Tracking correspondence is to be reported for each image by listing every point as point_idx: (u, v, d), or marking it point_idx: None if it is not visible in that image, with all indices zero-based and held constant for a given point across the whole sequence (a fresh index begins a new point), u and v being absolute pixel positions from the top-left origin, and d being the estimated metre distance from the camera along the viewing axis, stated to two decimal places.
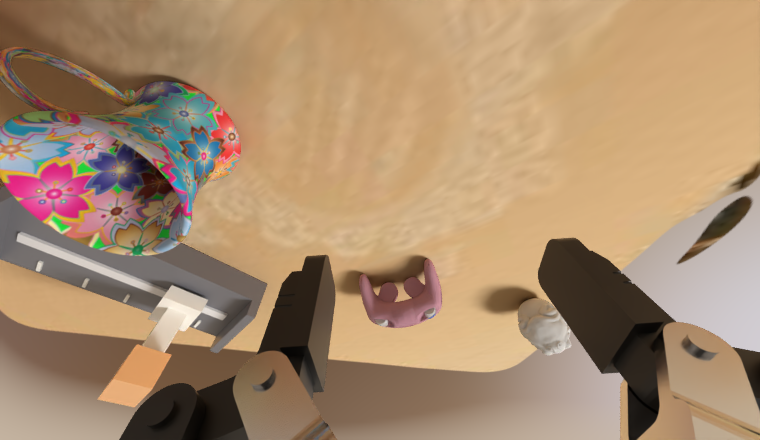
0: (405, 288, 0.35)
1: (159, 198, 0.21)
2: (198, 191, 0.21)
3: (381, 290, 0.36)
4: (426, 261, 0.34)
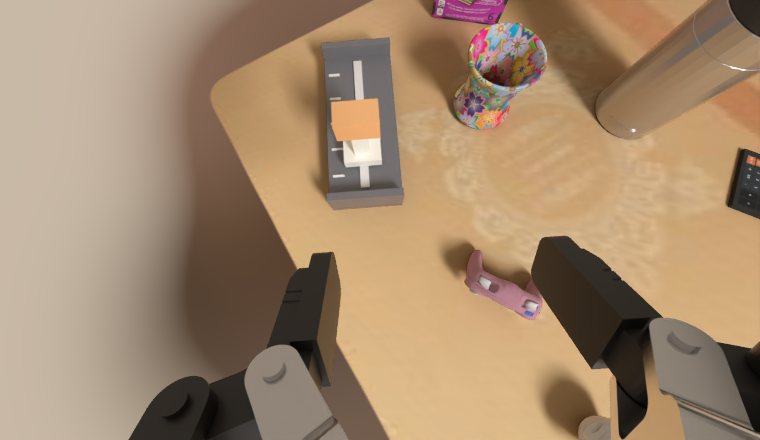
0: None
1: None
2: (498, 102, 0.37)
3: None
4: None
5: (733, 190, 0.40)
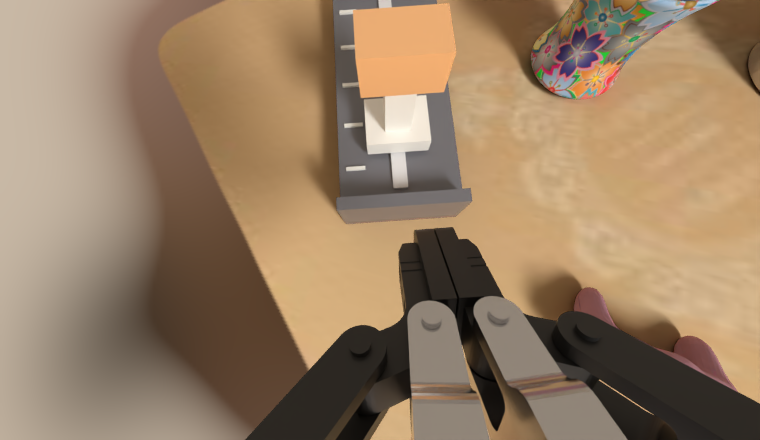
0: None
1: None
2: (630, 45, 0.22)
3: None
4: (691, 336, 0.22)
5: None
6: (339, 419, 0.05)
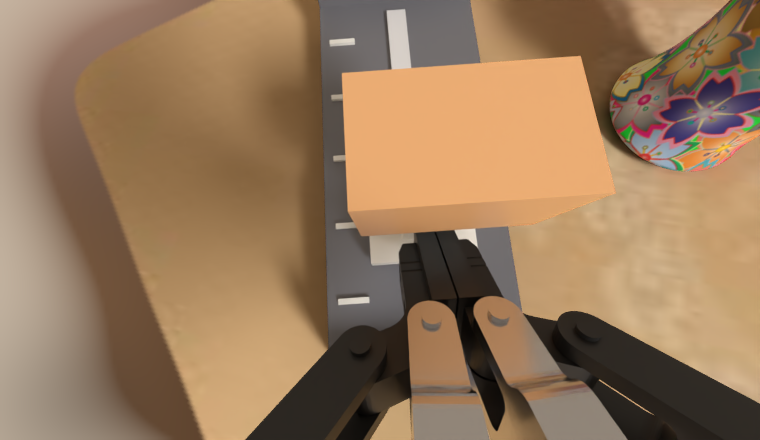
0: None
1: None
2: None
3: None
4: None
5: None
6: (339, 419, 0.05)
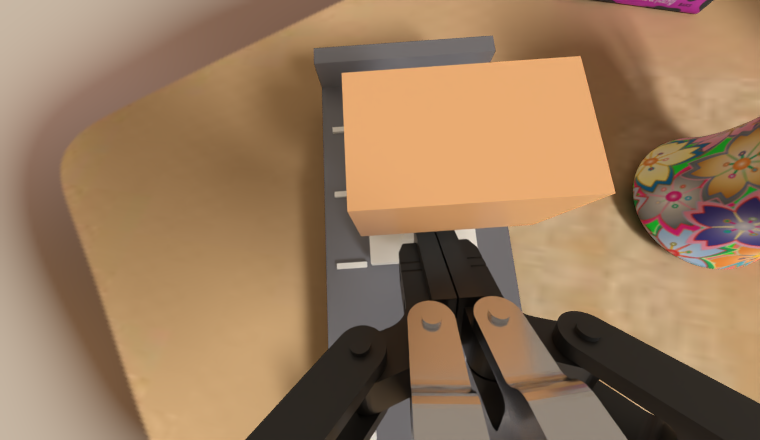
0: None
1: None
2: None
3: None
4: None
5: None
6: (339, 419, 0.05)
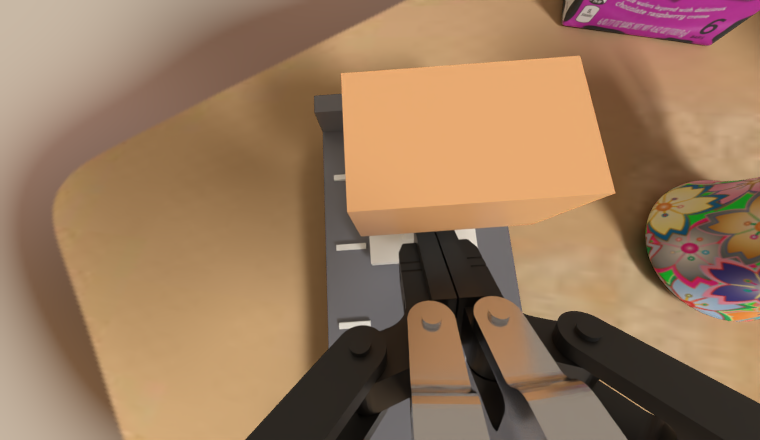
0: None
1: None
2: None
3: None
4: None
5: None
6: (339, 419, 0.05)
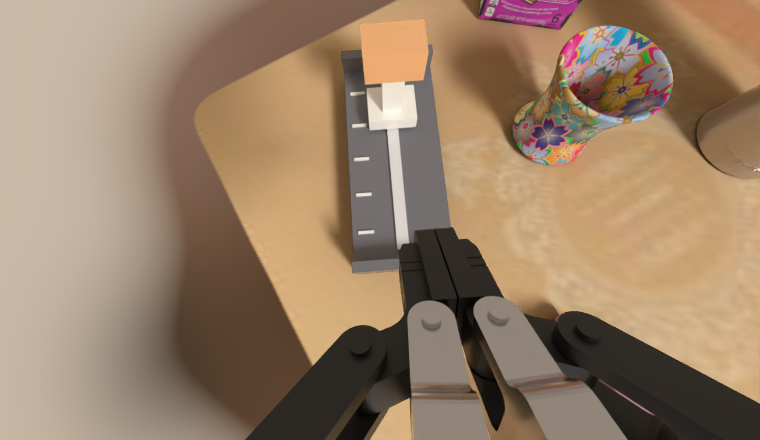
0: None
1: None
2: (589, 135, 0.27)
3: None
4: None
5: None
6: (339, 419, 0.05)
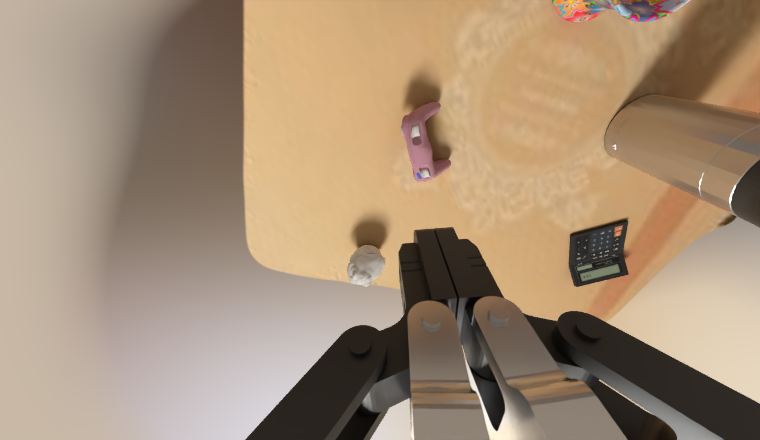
0: None
1: None
2: None
3: None
4: None
5: (585, 231, 0.50)
6: (339, 419, 0.05)
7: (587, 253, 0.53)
